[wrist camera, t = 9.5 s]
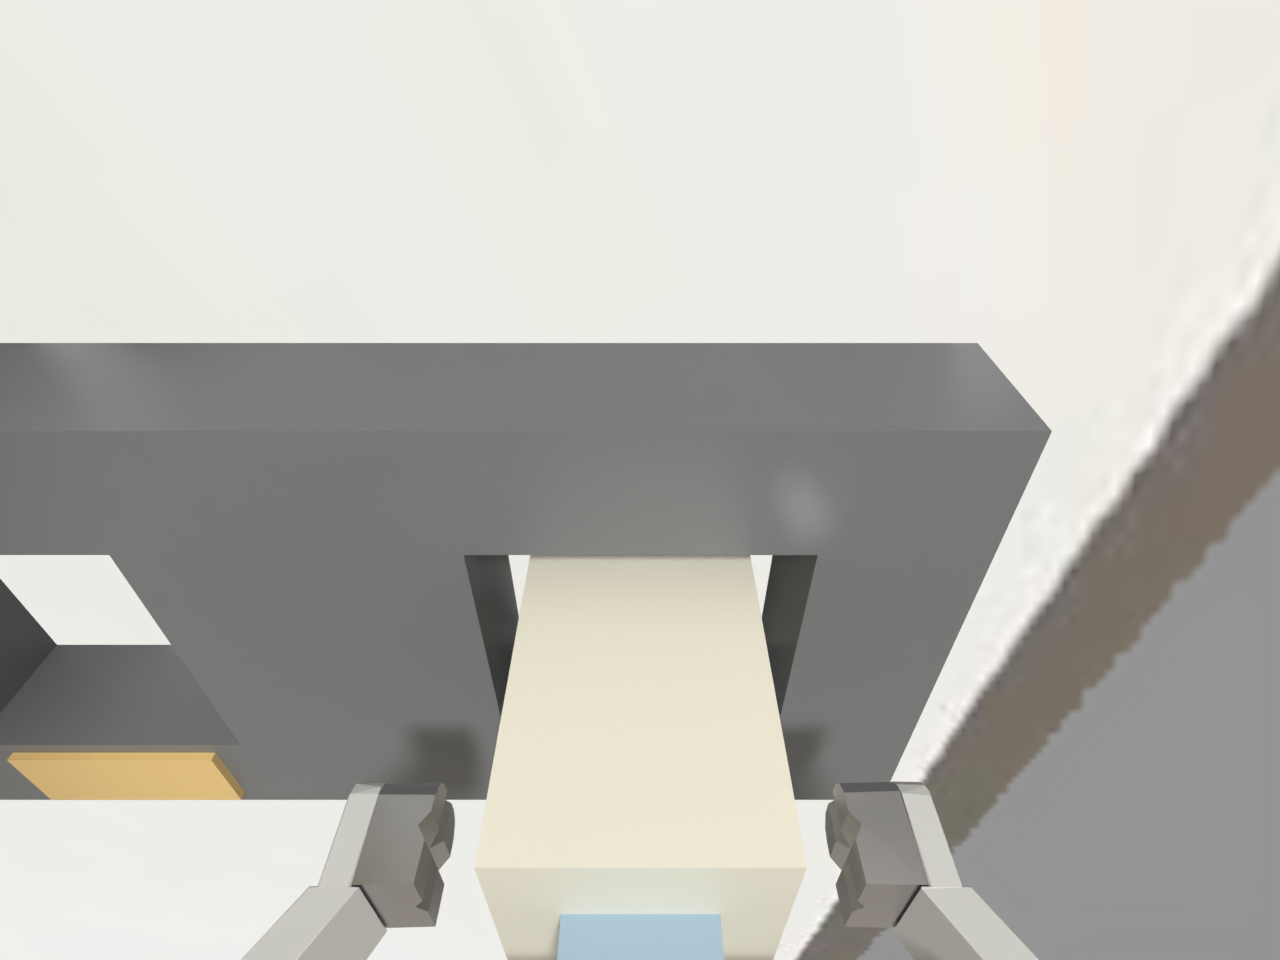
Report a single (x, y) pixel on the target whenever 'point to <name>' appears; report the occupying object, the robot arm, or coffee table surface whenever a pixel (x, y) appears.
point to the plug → (640, 768)
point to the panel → (473, 541)
